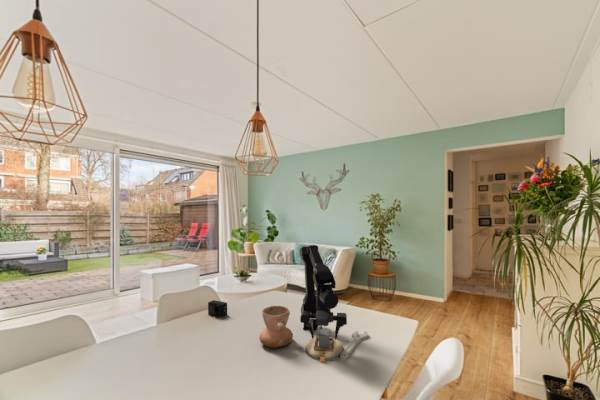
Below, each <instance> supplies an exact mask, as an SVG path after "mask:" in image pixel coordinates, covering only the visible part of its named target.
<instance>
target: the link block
mask: <svg viewBox="0 0 600 400" xmlns="http://www.w3.org/2000/svg"><path fill="white" fill-rule="evenodd" d="M329 337H330V329H322V330H321V329H320V331H319V348H329V343H330V338H331V337H330V338H329Z"/></svg>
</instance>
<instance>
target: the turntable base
mask: <svg viewBox="0 0 600 400" xmlns="http://www.w3.org/2000/svg"><path fill="white" fill-rule="evenodd" d="M344 350H345V348H344V347H343V351H344ZM304 353H305V355H307V357H308V358H311V359H313V360H316V361H317V360H318V361H319V362H320V363H325V362H326V361H327V362H329V361H334V360H337V359H341V358H340V355H339V356H337V357H334V358H329V359H325V356H323V355H320V358H316V357H313V356H311V355H310V354H308V353H307V351H306V347H304Z"/></svg>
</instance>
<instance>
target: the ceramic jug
mask: <svg viewBox="0 0 600 400" xmlns="http://www.w3.org/2000/svg"><path fill="white" fill-rule="evenodd" d="M261 313H262V314H261V315H262V319H263V322H264V325H265V326H266V327H265V328H264V329H262V331H260V333H259V342H260V343H261V344H262V345H263V346H265V347H269V348H277V349H278V348H281V347H285V346H287V345H288V344H290V343H291V341H292V340H293V338H294V335H293V331H292V330H291V329H290V328H289V327H287V323H288V321H289V317H290V313H291V309H290V308H288V307H285V306H282V305H270V306H267V307H264V308H263V309H262V312H261Z"/></svg>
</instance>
